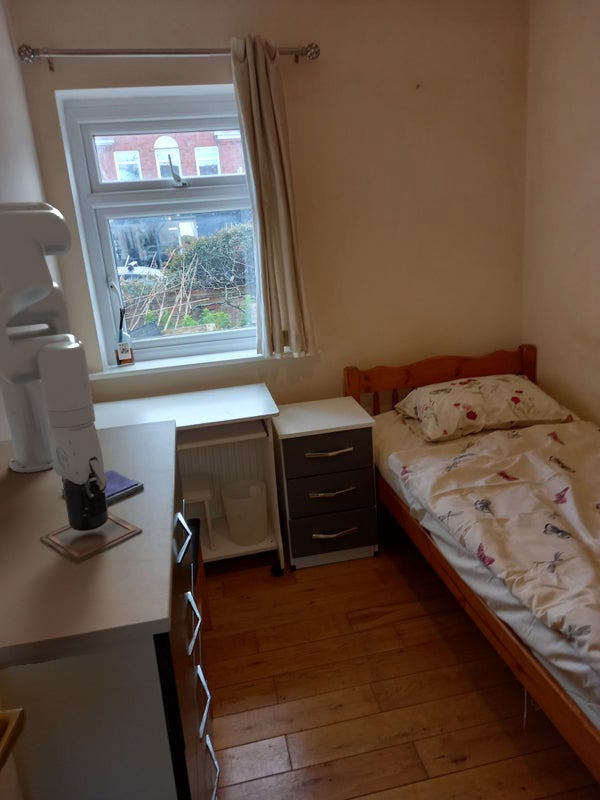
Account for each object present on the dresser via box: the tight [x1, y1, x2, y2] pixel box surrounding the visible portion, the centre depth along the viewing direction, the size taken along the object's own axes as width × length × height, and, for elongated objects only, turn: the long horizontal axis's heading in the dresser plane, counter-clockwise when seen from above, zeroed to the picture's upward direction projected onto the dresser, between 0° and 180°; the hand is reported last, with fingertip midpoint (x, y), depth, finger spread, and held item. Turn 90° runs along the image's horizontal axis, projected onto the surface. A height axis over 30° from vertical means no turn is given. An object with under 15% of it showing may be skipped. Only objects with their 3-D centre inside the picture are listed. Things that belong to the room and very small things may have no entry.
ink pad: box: [61, 469, 145, 506], centre depth 120 cm, size 12×12×2 cm
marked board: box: [39, 510, 143, 565], centre depth 104 cm, size 13×13×1 cm
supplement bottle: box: [62, 474, 109, 531], centre depth 101 cm, size 7×7×12 cm
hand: (86, 507), depth 102 cm, fingers closed on supplement bottle, 6 cm apart
